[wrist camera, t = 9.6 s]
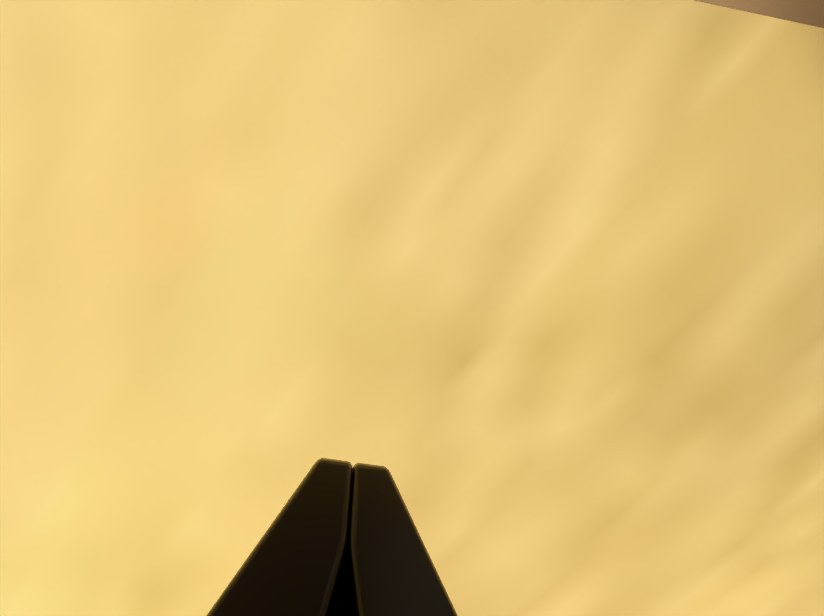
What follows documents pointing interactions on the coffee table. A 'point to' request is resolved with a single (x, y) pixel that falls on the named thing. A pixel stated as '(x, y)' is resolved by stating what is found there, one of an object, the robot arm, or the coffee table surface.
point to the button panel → (780, 9)
